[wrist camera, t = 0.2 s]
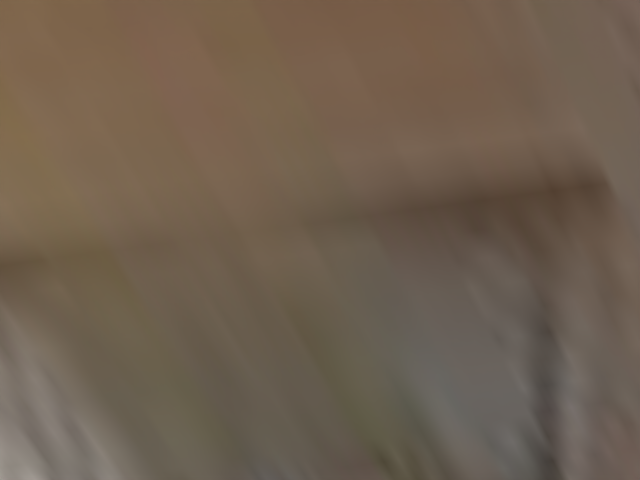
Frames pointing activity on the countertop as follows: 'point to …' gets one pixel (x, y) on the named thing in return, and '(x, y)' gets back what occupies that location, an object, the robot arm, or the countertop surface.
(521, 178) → the countertop surface
